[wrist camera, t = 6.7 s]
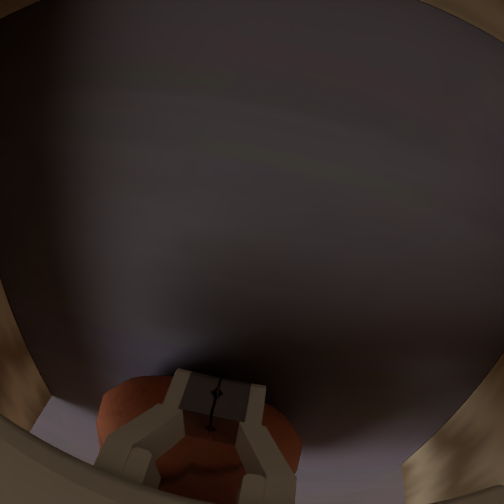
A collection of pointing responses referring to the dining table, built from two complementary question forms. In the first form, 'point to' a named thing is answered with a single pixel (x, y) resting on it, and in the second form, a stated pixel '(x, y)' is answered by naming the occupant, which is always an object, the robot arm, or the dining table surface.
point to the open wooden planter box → (415, 467)
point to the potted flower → (192, 444)
